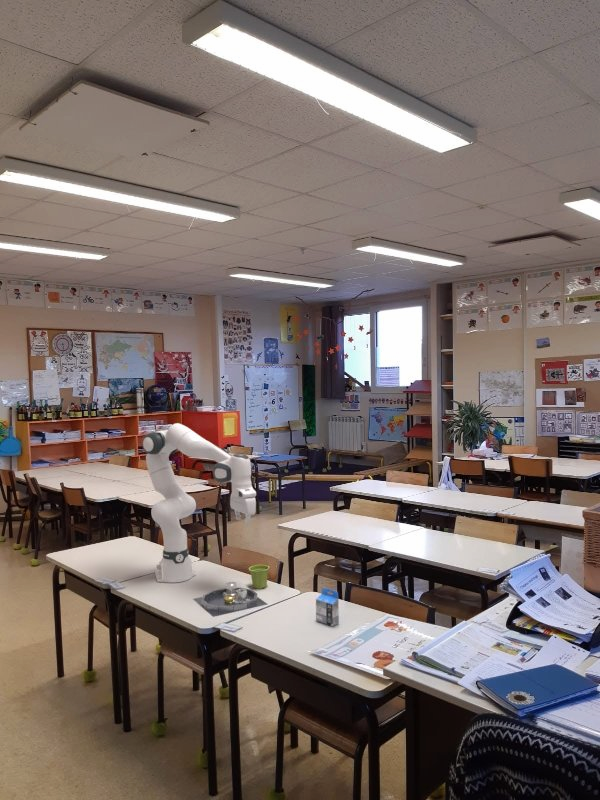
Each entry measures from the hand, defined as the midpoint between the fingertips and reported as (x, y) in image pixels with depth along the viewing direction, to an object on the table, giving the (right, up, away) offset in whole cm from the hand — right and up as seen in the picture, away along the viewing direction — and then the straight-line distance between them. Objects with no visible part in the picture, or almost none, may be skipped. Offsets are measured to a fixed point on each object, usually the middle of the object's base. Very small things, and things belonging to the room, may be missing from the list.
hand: (242, 521), depth 265 cm
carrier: (-4, -32, -15) cm, 35 cm away
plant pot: (+7, -31, +6) cm, 32 cm away
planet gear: (+1, -30, -18) cm, 35 cm away
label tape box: (+36, -31, -37) cm, 60 cm away
